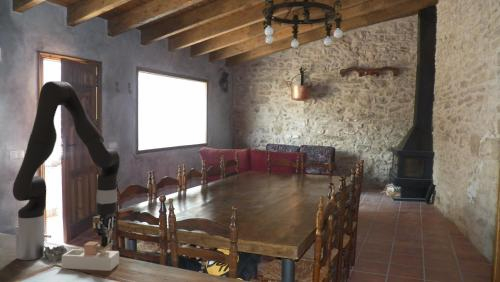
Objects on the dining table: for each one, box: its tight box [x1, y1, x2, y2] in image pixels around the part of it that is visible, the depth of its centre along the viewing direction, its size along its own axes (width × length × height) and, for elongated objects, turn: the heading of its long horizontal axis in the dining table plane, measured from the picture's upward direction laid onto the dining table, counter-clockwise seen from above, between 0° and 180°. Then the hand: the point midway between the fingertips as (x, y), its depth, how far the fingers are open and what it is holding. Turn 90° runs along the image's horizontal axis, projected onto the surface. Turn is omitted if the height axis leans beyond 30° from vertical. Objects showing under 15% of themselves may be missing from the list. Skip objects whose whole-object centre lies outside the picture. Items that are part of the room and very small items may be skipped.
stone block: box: [83, 240, 100, 255], centre depth 149 cm, size 4×4×4 cm
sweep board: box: [61, 248, 120, 272], centre depth 149 cm, size 20×8×5 cm, turn 85°
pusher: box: [96, 229, 113, 254], centre depth 148 cm, size 3×6×8 cm, turn 176°
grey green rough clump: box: [43, 245, 68, 262], centre depth 158 cm, size 11×8×4 cm
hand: (106, 244), depth 149 cm, fingers closed on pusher, 2 cm apart
